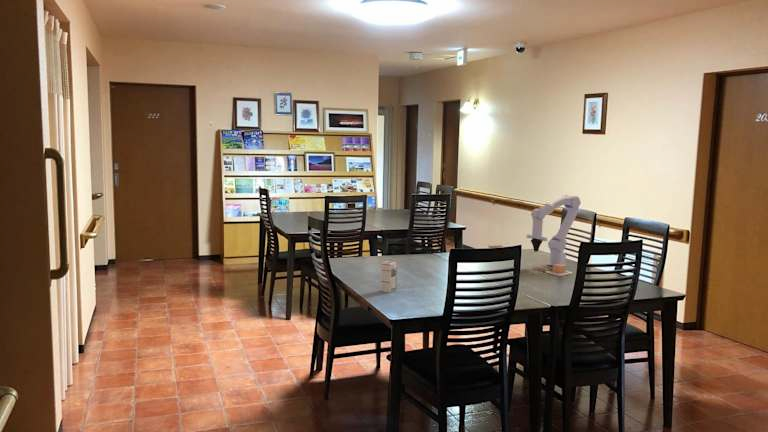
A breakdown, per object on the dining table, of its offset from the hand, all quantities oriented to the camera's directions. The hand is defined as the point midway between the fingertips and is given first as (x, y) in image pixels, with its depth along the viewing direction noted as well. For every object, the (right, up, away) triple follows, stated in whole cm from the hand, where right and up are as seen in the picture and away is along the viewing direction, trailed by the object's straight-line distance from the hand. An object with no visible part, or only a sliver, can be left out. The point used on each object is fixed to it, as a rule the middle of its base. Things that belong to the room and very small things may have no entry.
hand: (536, 251), depth 378 cm
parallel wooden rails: (+3, -11, -7) cm, 13 cm away
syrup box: (-89, -16, -68) cm, 114 cm away
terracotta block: (+9, -12, -16) cm, 22 cm away
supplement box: (-25, -9, 0) cm, 26 cm away
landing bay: (+9, -12, -16) cm, 21 cm away
